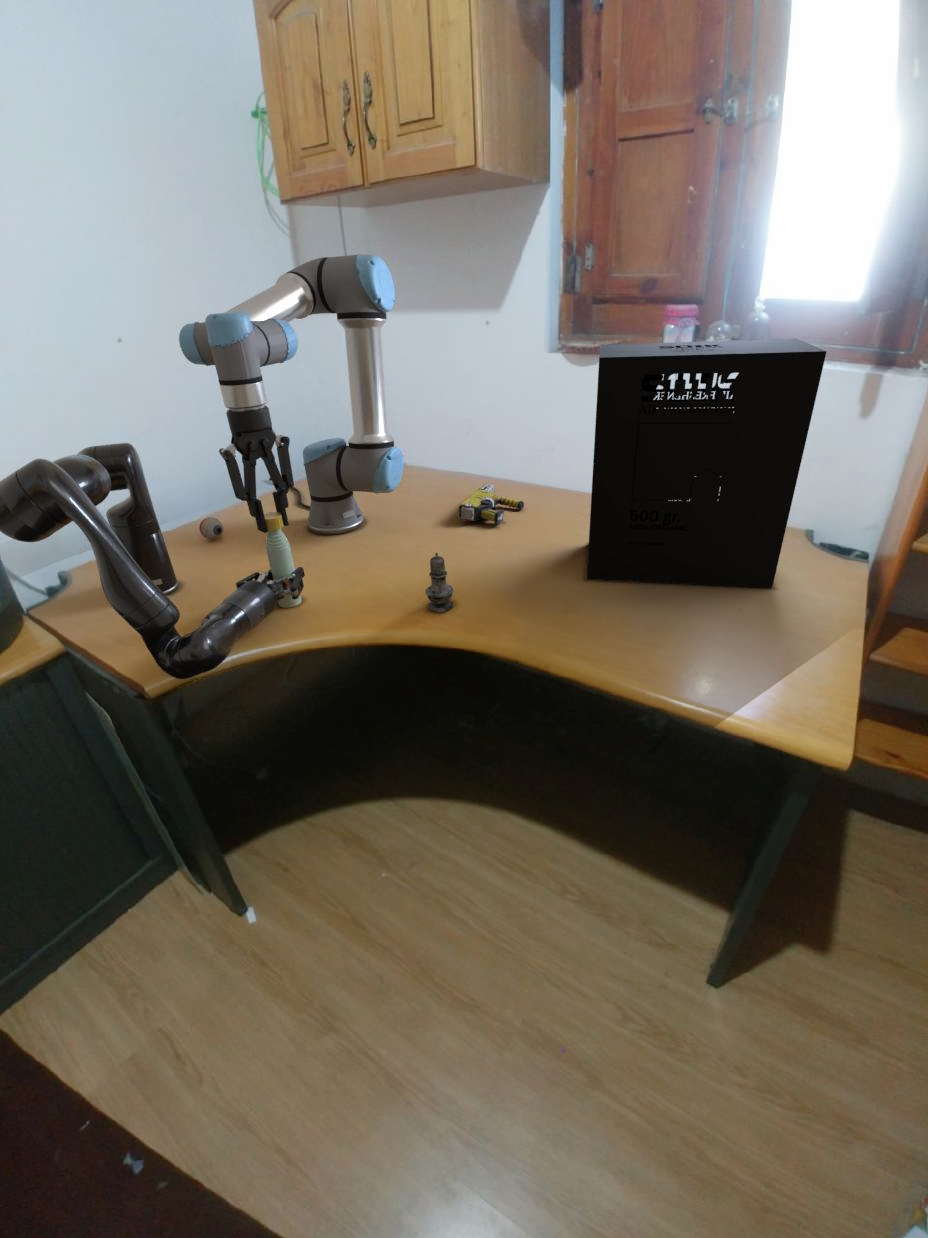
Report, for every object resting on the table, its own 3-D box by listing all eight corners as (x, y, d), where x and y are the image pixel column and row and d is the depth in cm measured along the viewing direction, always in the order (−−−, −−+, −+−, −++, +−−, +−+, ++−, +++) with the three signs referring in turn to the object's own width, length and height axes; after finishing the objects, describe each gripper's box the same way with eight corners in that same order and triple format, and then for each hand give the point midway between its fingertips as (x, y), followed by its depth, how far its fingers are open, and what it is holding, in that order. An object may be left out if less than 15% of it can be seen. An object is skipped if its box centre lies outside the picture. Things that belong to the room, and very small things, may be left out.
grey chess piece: (451, 613, 122) (447, 559, 116) (423, 611, 123) (418, 558, 117) (457, 599, 127) (454, 547, 121) (430, 598, 128) (425, 546, 122)
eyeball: (213, 544, 161) (207, 523, 158) (198, 540, 164) (191, 520, 161) (231, 536, 165) (225, 516, 162) (216, 533, 168) (210, 512, 165)
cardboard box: (752, 548, 142) (795, 338, 119) (772, 587, 124) (826, 351, 102) (589, 543, 149) (600, 344, 127) (586, 579, 132) (599, 357, 110)
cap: (259, 527, 122) (256, 516, 120) (277, 521, 124) (275, 510, 123) (269, 532, 119) (266, 520, 118) (287, 526, 122) (285, 514, 120)
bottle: (274, 604, 130) (254, 520, 120) (291, 595, 133) (273, 513, 124) (289, 609, 127) (270, 524, 118) (306, 600, 131) (288, 517, 121)
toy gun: (532, 488, 178) (484, 481, 182) (510, 513, 158) (457, 504, 162) (530, 504, 181) (483, 496, 185) (509, 529, 161) (456, 520, 165)
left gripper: (275, 593, 112) (317, 555, 126) (209, 587, 115) (257, 551, 129) (283, 628, 115) (323, 587, 129) (219, 621, 119) (264, 583, 133)
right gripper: (278, 397, 117) (301, 511, 129) (192, 413, 107) (225, 535, 119) (298, 401, 112) (319, 519, 124) (210, 418, 103) (242, 545, 114)
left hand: (290, 570), depth 129 cm, fingers closed on bottle, 4 cm apart
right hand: (273, 527), depth 122 cm, fingers closed on cap, 4 cm apart
